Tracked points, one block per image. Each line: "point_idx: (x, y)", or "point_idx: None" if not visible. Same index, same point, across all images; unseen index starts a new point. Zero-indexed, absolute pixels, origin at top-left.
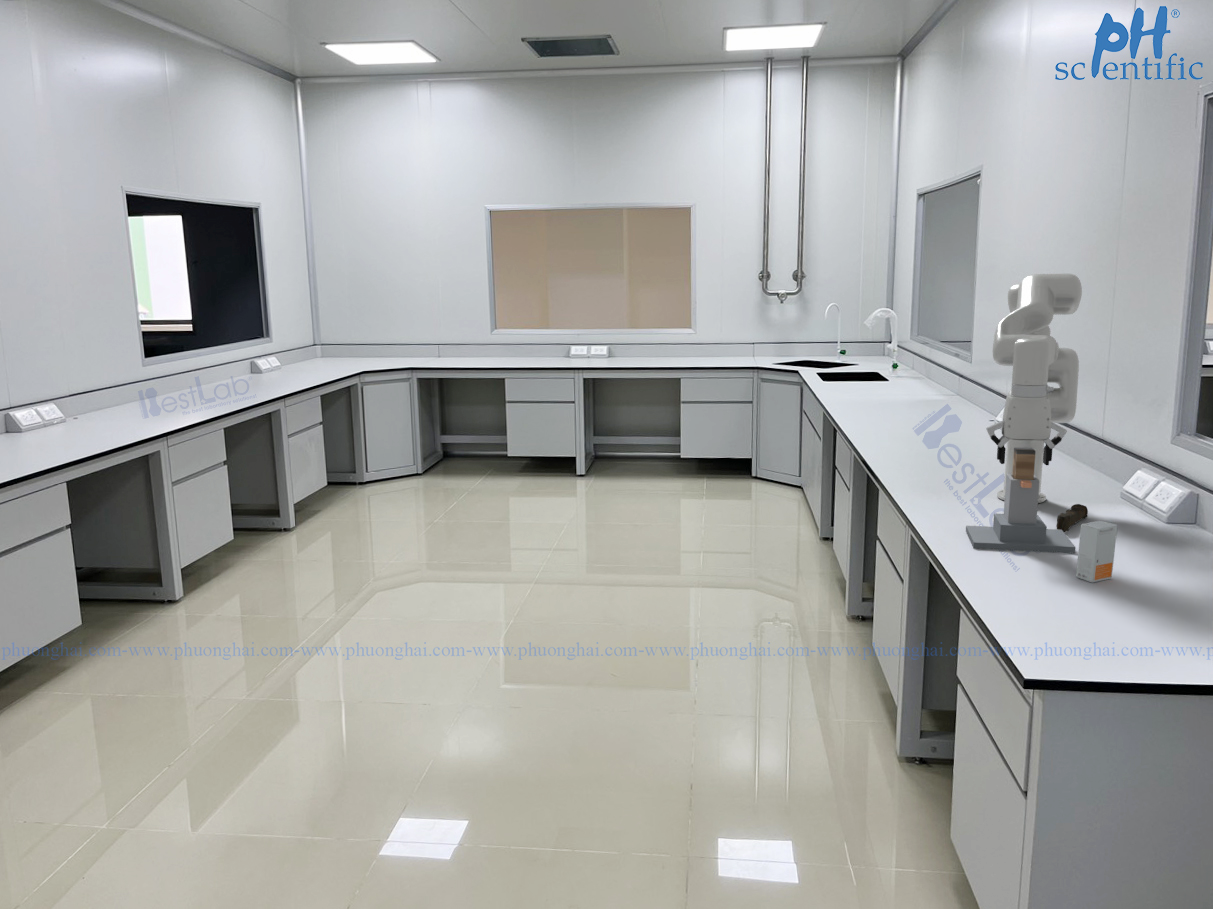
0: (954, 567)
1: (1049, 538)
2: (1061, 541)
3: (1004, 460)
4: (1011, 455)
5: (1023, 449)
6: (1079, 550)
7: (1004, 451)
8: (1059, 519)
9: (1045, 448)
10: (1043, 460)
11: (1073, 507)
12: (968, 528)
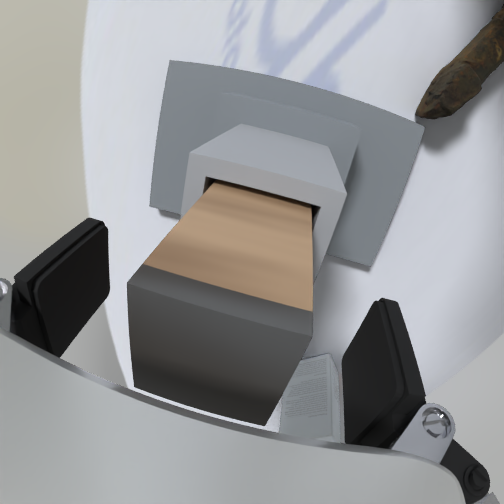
0: (110, 294)
1: (350, 195)
2: (365, 224)
3: (99, 304)
4: None
5: (192, 372)
6: (282, 401)
7: (64, 346)
8: (436, 112)
9: (364, 426)
10: (371, 322)
11: None
12: (167, 87)
